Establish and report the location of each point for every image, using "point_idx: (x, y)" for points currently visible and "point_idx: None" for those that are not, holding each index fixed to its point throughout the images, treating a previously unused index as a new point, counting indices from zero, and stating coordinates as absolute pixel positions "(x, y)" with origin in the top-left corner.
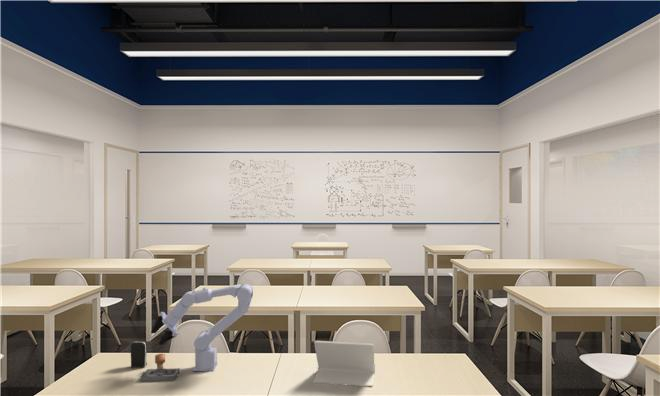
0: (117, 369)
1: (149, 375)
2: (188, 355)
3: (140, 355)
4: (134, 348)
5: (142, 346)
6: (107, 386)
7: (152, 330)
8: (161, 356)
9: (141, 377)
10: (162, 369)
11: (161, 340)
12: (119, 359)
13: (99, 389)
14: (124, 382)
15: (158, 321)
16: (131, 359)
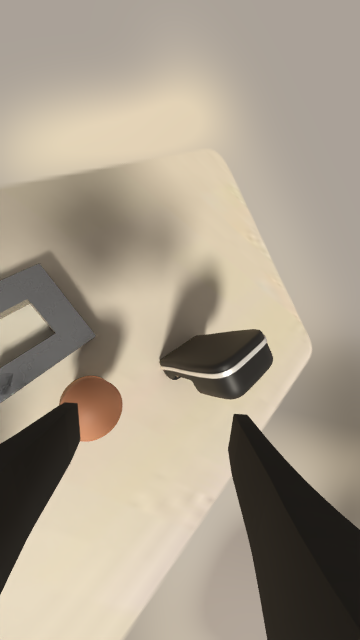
0: (210, 303)
1: (8, 293)
2: (123, 582)
3: (194, 353)
4: (233, 338)
5: (213, 360)
6: (115, 198)
7: (249, 427)
8: None
9: (34, 266)
10: (18, 378)
11: (24, 432)
12: None
13: (115, 173)
14: (95, 241)
15: (347, 634)
16: (210, 334)
